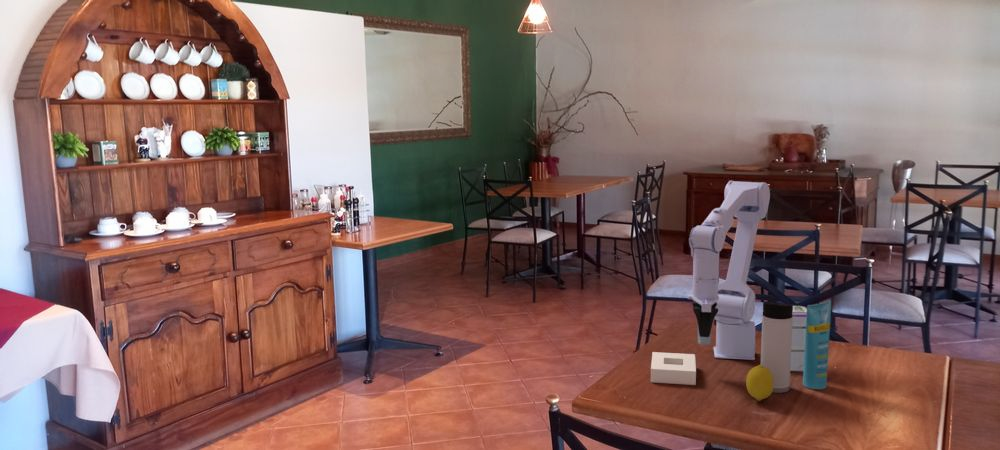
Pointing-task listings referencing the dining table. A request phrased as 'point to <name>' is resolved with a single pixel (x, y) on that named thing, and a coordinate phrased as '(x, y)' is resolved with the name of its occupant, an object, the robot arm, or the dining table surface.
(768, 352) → the travel mug
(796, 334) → the syrup box
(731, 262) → the robot arm
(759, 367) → the lemon
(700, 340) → the dowel
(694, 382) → the bore block
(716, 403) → the dining table surface
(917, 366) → the dining table surface
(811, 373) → the tube
